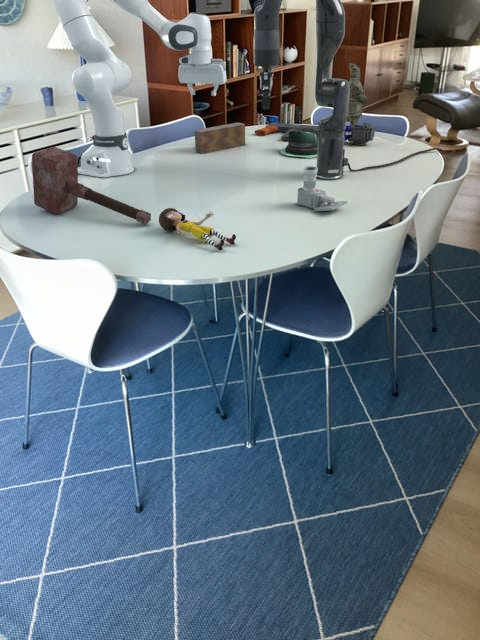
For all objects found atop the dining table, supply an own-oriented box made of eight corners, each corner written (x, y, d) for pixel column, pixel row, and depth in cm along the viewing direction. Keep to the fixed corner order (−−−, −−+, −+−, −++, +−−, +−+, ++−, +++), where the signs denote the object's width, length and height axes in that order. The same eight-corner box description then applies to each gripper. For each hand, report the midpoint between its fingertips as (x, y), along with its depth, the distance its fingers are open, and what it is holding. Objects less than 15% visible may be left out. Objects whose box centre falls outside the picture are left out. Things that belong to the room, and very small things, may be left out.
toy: (345, 120, 249) (377, 123, 242) (343, 139, 253) (375, 143, 246) (337, 123, 243) (369, 127, 236) (336, 143, 247) (367, 147, 240)
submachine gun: (248, 131, 260) (271, 121, 279) (248, 137, 261) (271, 127, 280) (310, 137, 246) (331, 126, 265) (310, 144, 248) (330, 132, 266)
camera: (310, 163, 175) (350, 172, 167) (308, 199, 181) (347, 209, 173) (293, 169, 170) (334, 178, 161) (291, 206, 176) (331, 217, 167)
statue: (367, 132, 266) (374, 63, 251) (349, 133, 264) (355, 64, 249) (357, 127, 275) (362, 61, 260) (339, 129, 273) (344, 62, 258)
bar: (202, 153, 237) (201, 132, 233) (195, 151, 241) (194, 130, 236) (245, 144, 250) (245, 124, 245) (238, 143, 253) (238, 122, 249)
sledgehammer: (159, 186, 162) (53, 145, 173) (139, 196, 154) (29, 152, 166) (154, 239, 172) (54, 196, 183) (135, 250, 164) (32, 205, 176)
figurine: (212, 239, 141) (145, 208, 153) (211, 265, 145) (145, 233, 157) (245, 224, 150) (179, 196, 162) (243, 249, 154) (178, 220, 166)
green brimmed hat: (332, 145, 241) (326, 158, 224) (294, 164, 249) (286, 177, 233) (317, 113, 235) (310, 124, 219) (279, 133, 244) (269, 145, 228)
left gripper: (228, 58, 222) (229, 94, 229) (182, 57, 228) (184, 93, 235) (222, 59, 217) (223, 97, 224) (175, 59, 223) (178, 95, 230)
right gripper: (279, 49, 152) (278, 111, 161) (279, 45, 165) (279, 102, 173) (252, 49, 153) (252, 111, 161) (254, 45, 165) (254, 103, 173)
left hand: (203, 95), depth 229 cm, fingers open, 8 cm apart
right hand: (266, 107), depth 167 cm, fingers open, 8 cm apart
